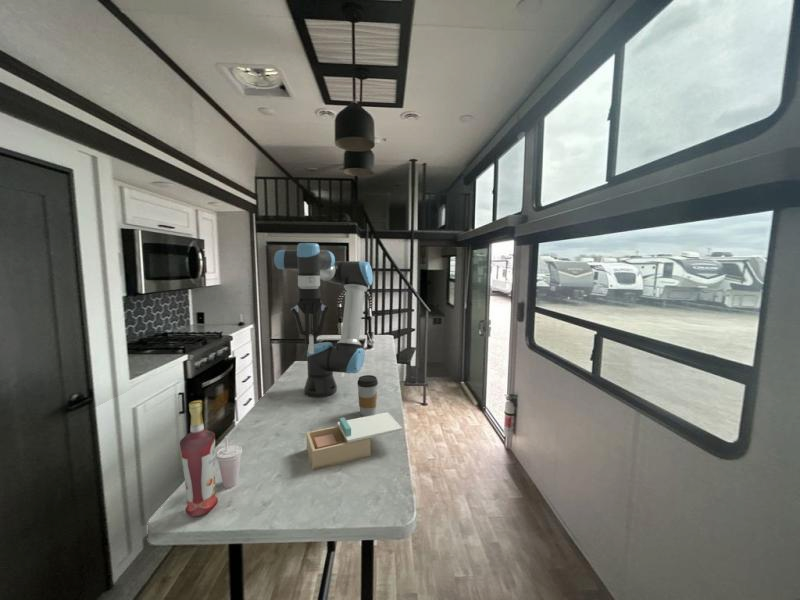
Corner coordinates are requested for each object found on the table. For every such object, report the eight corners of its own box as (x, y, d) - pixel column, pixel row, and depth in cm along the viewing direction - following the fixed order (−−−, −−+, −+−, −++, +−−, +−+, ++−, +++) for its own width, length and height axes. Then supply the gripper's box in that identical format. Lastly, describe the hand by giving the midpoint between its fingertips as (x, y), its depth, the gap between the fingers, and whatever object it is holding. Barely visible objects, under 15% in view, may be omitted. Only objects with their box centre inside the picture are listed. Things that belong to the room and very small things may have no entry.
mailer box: (306, 449, 108) (306, 432, 108) (358, 437, 116) (358, 421, 115) (313, 470, 97) (312, 451, 97) (370, 455, 105) (370, 438, 104)
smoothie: (224, 476, 94) (221, 430, 93) (247, 475, 95) (244, 429, 93) (213, 492, 88) (210, 443, 86) (238, 490, 89) (235, 442, 87)
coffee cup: (374, 419, 130) (374, 382, 128) (354, 417, 131) (354, 381, 129) (380, 410, 138) (380, 375, 136) (361, 408, 139) (361, 374, 138)
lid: (337, 424, 112) (337, 415, 112) (387, 414, 120) (387, 405, 120) (347, 442, 101) (347, 432, 100) (402, 430, 109) (402, 421, 108)
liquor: (215, 517, 79) (208, 407, 76) (180, 524, 77) (172, 411, 74) (222, 496, 86) (216, 395, 83) (190, 502, 84) (183, 398, 81)
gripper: (291, 289, 109) (293, 357, 112) (330, 287, 114) (331, 353, 117) (288, 287, 116) (290, 352, 118) (325, 286, 121) (326, 348, 124)
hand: (311, 352), depth 118 cm, fingers closed
